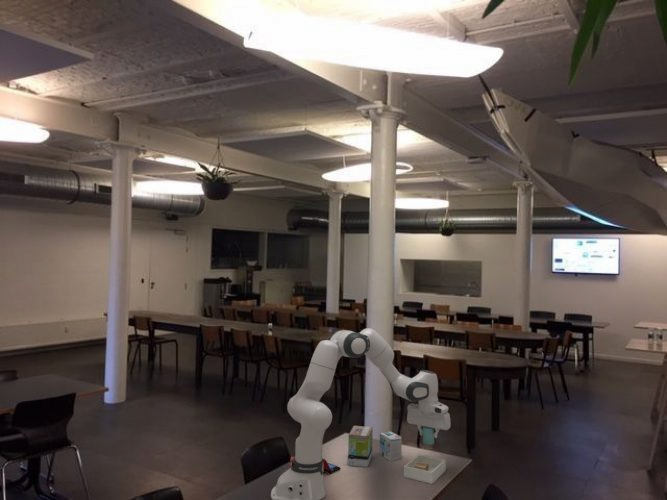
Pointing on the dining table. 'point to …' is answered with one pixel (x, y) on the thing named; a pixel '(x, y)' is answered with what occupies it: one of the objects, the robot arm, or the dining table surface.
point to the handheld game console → (329, 467)
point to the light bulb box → (391, 446)
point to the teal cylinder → (428, 435)
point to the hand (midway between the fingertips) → (428, 436)
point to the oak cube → (422, 466)
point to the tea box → (360, 446)
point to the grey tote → (431, 476)
